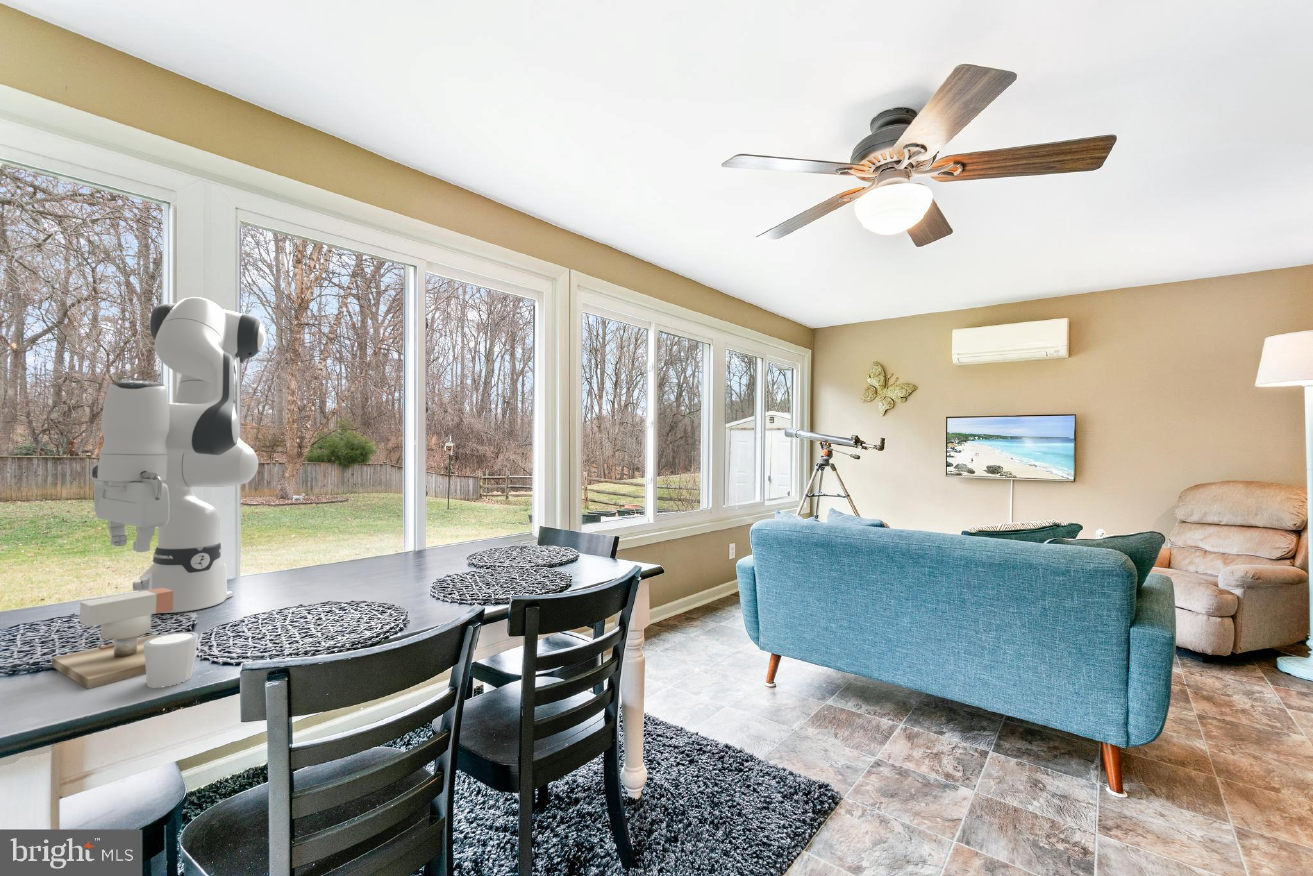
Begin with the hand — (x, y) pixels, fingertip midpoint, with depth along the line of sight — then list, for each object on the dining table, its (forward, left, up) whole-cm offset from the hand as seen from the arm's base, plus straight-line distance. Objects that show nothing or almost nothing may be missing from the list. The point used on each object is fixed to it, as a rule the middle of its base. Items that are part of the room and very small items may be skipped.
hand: (129, 548), depth 97 cm
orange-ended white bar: (0, 0, -15) cm, 15 cm away
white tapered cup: (+14, +1, -21) cm, 25 cm away
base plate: (0, 0, -20) cm, 20 cm away
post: (0, 0, -19) cm, 19 cm away
